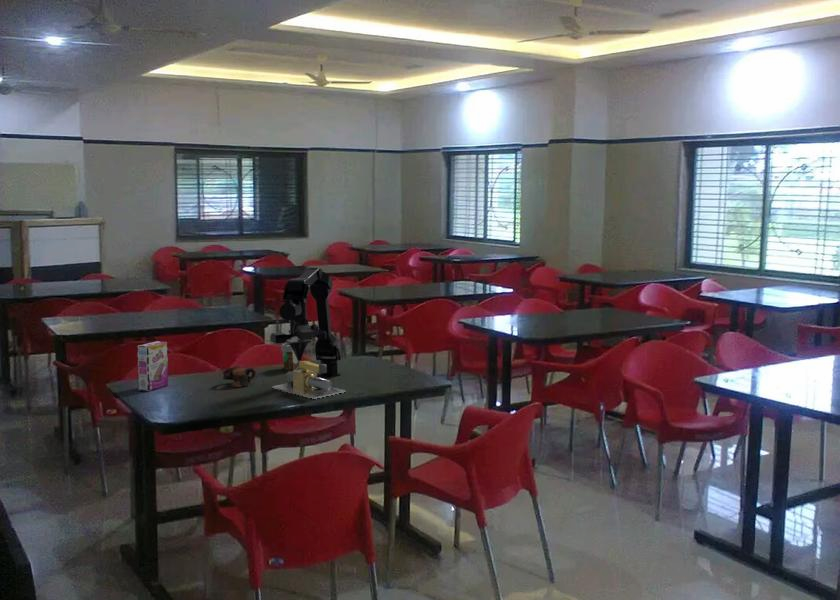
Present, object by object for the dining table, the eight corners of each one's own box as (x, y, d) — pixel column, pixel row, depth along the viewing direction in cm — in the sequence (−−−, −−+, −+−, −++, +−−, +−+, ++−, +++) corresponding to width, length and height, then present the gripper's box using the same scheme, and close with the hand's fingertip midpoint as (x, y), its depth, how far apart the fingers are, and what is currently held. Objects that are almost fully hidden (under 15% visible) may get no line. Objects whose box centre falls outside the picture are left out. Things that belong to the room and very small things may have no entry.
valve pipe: (272, 388, 306) (271, 366, 305) (303, 382, 316) (302, 360, 315) (314, 399, 290) (313, 376, 289) (345, 392, 300) (345, 370, 299)
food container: (286, 365, 346) (285, 341, 345) (301, 365, 346) (300, 341, 344) (277, 371, 334) (276, 346, 333) (292, 372, 333) (291, 347, 332)
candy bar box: (149, 392, 302) (147, 346, 300) (138, 390, 304) (136, 345, 301) (169, 385, 312) (167, 341, 310) (158, 384, 314) (156, 340, 312)
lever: (297, 367, 303) (297, 359, 303) (306, 366, 306) (305, 358, 305) (320, 374, 292) (320, 366, 292) (329, 372, 295) (329, 364, 294)
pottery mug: (228, 391, 305) (220, 370, 307) (227, 396, 314) (220, 376, 316) (260, 379, 309) (252, 359, 311) (259, 385, 318) (251, 365, 320)
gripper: (281, 321, 280) (282, 367, 282) (332, 316, 289) (333, 361, 291) (269, 317, 289) (270, 362, 291) (319, 312, 299) (320, 356, 301)
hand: (299, 360), depth 294 cm, fingers closed
